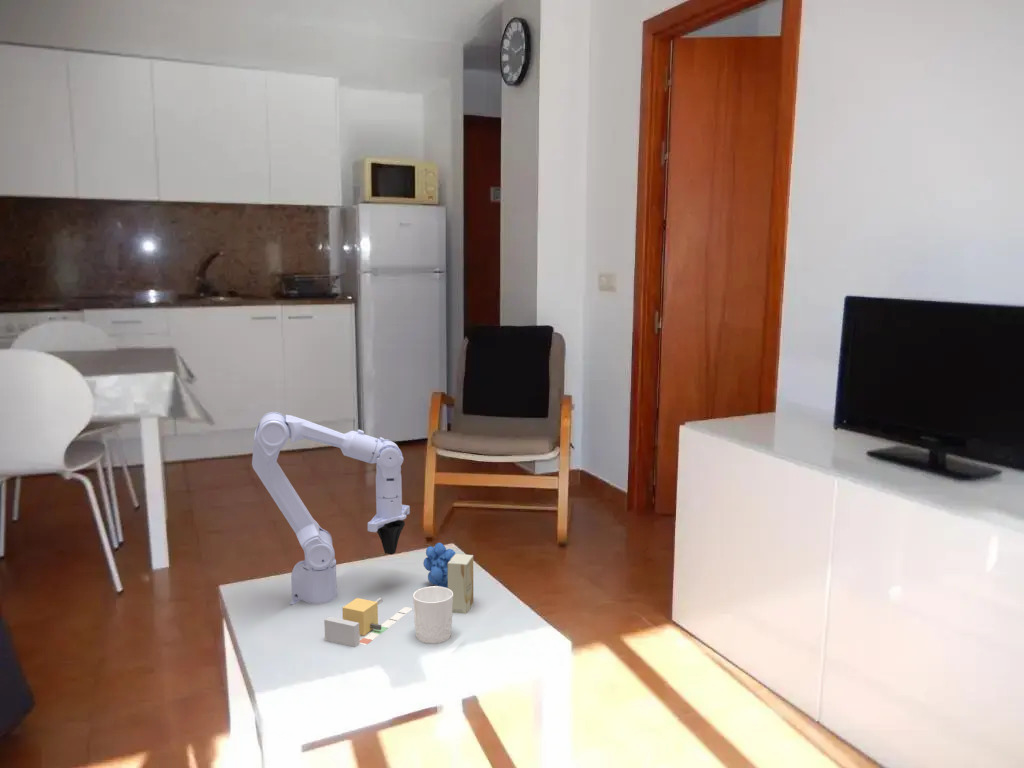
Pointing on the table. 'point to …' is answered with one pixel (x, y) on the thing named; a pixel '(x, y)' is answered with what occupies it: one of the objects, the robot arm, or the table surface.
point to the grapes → (438, 564)
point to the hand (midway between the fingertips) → (390, 553)
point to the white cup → (433, 614)
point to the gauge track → (356, 629)
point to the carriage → (362, 614)
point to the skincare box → (461, 582)
